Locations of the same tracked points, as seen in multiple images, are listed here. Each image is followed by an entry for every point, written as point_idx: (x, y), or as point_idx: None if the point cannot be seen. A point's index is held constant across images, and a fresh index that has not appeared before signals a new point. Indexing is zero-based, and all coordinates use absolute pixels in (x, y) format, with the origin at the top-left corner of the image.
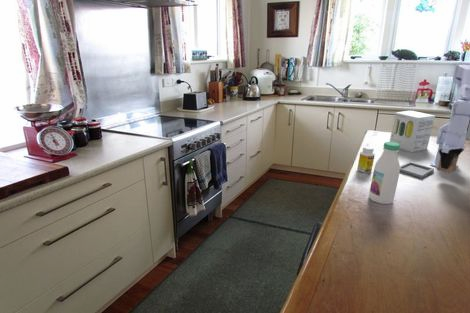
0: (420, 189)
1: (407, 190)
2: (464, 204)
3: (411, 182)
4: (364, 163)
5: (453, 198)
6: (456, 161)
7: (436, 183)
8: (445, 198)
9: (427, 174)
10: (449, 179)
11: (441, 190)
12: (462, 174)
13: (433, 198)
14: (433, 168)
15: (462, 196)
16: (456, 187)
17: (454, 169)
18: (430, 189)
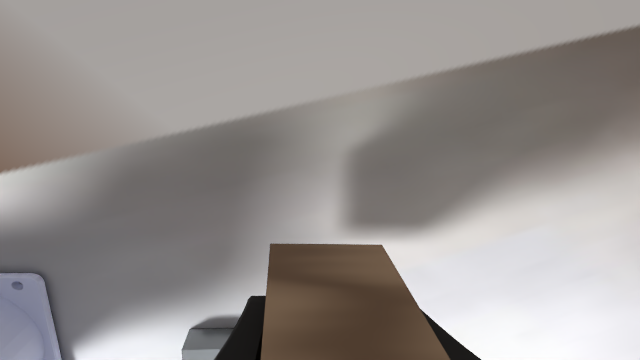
0: (549, 271)
1: (602, 303)
2: (629, 33)
3: (479, 332)
4: None
5: (572, 108)
6: (299, 318)
7: (391, 249)
8: (599, 142)
9: None
10: (241, 221)
11: (488, 194)
12: (21, 191)
13: (635, 187)
14: (182, 354)
15: (503, 75)
16: (364, 146)
17: (285, 253)
18: (514, 239)
